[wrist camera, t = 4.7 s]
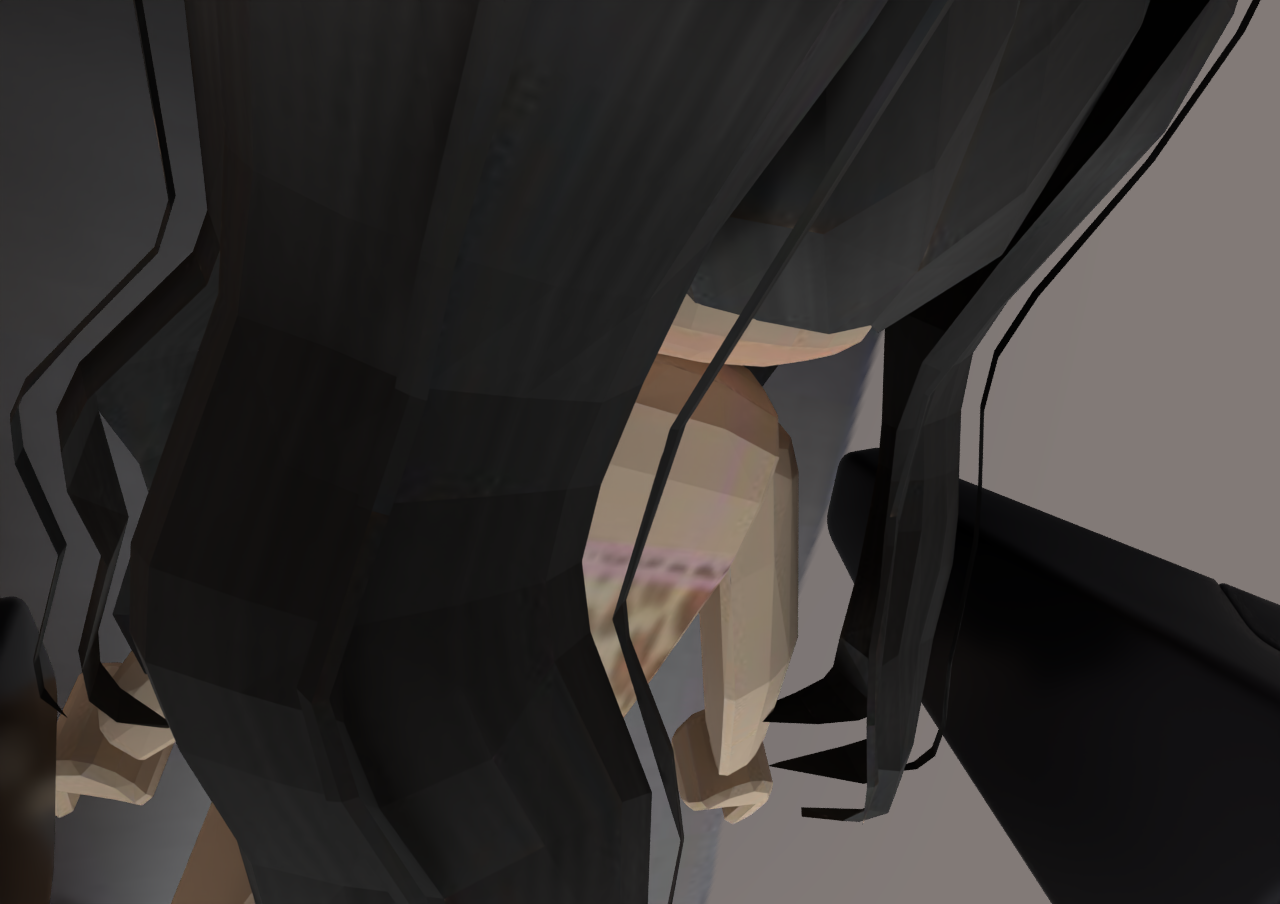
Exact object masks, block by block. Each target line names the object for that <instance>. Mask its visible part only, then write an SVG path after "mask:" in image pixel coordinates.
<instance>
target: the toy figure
mask: <svg viewBox="0 0 1280 904" xmlns="http://www.w3.org/2000/svg"><path fill="white" fill-rule="evenodd" d="M133 2H134V8H135V14H136V19H137V25H138V30H139V36H140V42H141V47H142V53H143V59H144V64H145V70H146V76H147V81H148V87H149V93H150V98H151V104H152V110H153V115H154V121H155V127H156V132H157V138H158V144H159V149H160V155H161V161H162V166H163V172H164V178H165V183H166V189H167V194H168V204H167V207H166V210H165V214H164V217H163V220H162V224H161V227H160V230H159V234H158V237H157V240H156V244H155V247H154V248H153V249H152V250H151V251H150V252H149V253H148V254H147V255H146V256H145V257H144V258H143V259H142V260H141V261H140V262H139V263H138V264H137V265H136V266H135V267H134V268H133V269H132V270H131V271H130V272H129V273H128V274H127V275H126V276H125V278H124V279H123V280H122V281H121V282H120V283H119V284H118V285H117V286H116V287H115V288H114V289H113V290H112V291H111V292H110V293H109V294H108V295H107V296H106V297H105V298H104V299H103V300H102V301H101V302H100V303H99V304H98V305H97V306H96V307H95V308H94V309H93V310H92V311H91V312H90V313H89V314H88V315H87V316H86V317H85V318H84V319H83V320H82V321H81V323H80V324H79V325H78V326H77V327H76V328H75V329H74V330H73V331H72V332H71V333H70V334H69V335H68V336H67V337H66V338H65V339H64V340H63V341H62V342H61V343H60V344H59V345H58V346H57V347H56V348H55V349H54V350H53V351H52V352H51V353H50V354H49V355H48V356H47V357H46V358H45V359H44V360H43V361H42V362H41V363H40V364H39V365H38V366H37V367H36V369H35V370H34V371H33V372H32V373H31V374H30V375H29V376H28V377H27V378H26V379H25V381H24V384H23V386H22V388H21V390H20V393H19V395H18V397H17V400H16V402H15V404H14V407H13V409H12V411H11V413H10V424H11V433H12V442H13V450H14V459H15V465H16V467H17V470H18V472H19V474H20V476H21V478H22V480H23V482H24V484H25V487H26V489H27V491H28V493H29V495H30V497H31V499H32V501H33V503H34V506H35V508H36V510H37V512H38V514H39V516H40V518H41V520H42V523H43V525H44V527H45V529H46V531H47V533H48V535H49V537H50V539H51V542H52V544H53V546H54V548H55V550H56V552H57V554H58V559H57V563H56V567H55V571H54V575H53V579H52V584H51V588H50V592H49V596H48V600H47V604H46V608H45V613H44V617H43V621H42V625H41V629H40V633H39V637H38V642H37V646H36V650H35V654H34V658H33V665H34V670H35V675H36V680H37V685H38V690H39V695H40V698H41V699H42V700H44V701H45V702H46V703H48V704H49V705H50V706H52V707H53V708H54V709H56V710H57V711H59V712H60V713H61V715H60V717H59V719H58V722H57V742H56V797H55V815H56V816H57V817H59V818H61V817H63V816H65V815H67V814H69V813H71V812H73V811H74V808H75V806H76V803H77V801H78V799H79V796H80V794H82V795H89V796H95V797H102V798H108V799H115V800H119V801H124V802H128V803H133V804H137V805H143V804H145V803H146V802H147V801H148V800H149V799H151V798H152V797H153V795H154V793H155V790H156V788H157V785H158V783H159V780H160V778H161V775H162V773H163V770H164V767H165V765H166V762H167V760H168V757H169V755H170V752H171V750H172V747H173V744H174V742H176V744H177V746H178V748H179V750H180V752H181V753H182V755H183V757H184V758H185V760H186V761H187V763H188V765H189V766H190V768H191V769H192V771H193V772H194V774H195V776H196V777H197V779H198V780H199V782H200V783H201V785H202V787H203V788H204V790H205V791H206V793H207V795H208V796H209V798H210V799H211V801H212V803H211V806H210V808H209V811H208V813H207V816H206V818H205V821H204V823H203V826H202V828H201V831H200V833H199V836H198V838H197V841H196V843H195V845H194V848H193V850H192V853H191V855H190V858H189V860H188V863H187V865H186V868H185V870H184V873H183V875H182V878H181V880H180V883H179V885H178V888H177V890H176V893H175V895H174V898H173V900H172V903H171V904H648V882H649V855H650V828H651V801H652V792H651V789H650V786H649V784H648V781H647V778H646V776H645V773H644V771H643V768H642V765H641V763H640V760H639V757H638V755H637V752H636V750H635V747H634V744H633V742H632V739H631V736H630V734H629V731H628V729H627V726H626V723H625V721H624V717H625V715H626V714H627V712H628V711H629V710H630V708H631V707H632V706H633V704H634V703H635V701H636V700H637V701H638V704H639V708H640V711H641V714H642V717H643V721H644V724H645V727H646V730H647V733H648V737H649V740H650V743H651V746H652V750H653V753H654V756H655V759H656V763H657V766H658V769H659V772H660V776H661V779H662V782H663V785H664V788H665V792H666V795H667V798H668V801H669V805H670V808H671V811H672V814H673V818H674V821H675V824H676V827H677V830H678V834H679V837H680V840H681V841H680V846H679V851H678V856H677V861H676V866H675V871H674V876H673V881H672V886H671V892H670V897H669V902H668V904H672V901H673V896H674V891H675V885H676V880H677V874H678V869H679V863H680V858H681V853H682V847H683V842H684V833H683V825H682V816H681V808H680V800H679V793H680V796H681V798H682V800H683V801H684V802H685V804H686V805H687V806H688V807H690V808H691V809H692V810H694V811H697V810H706V809H715V808H722V809H723V814H724V819H725V820H726V821H728V822H730V823H731V824H735V823H737V822H738V821H741V820H743V819H744V818H746V817H748V816H750V815H751V814H753V813H754V812H755V811H756V810H757V809H758V808H760V807H761V806H762V805H763V804H764V803H766V802H767V800H768V798H769V796H770V793H771V791H772V785H773V782H772V778H771V774H770V769H769V766H772V767H777V768H783V769H787V770H793V771H798V772H804V773H809V774H815V775H820V776H825V777H830V778H836V779H841V780H846V781H852V782H858V783H862V784H865V783H867V793H866V802H865V808H864V809H837V808H804V807H803V808H801V809H802V817H811V818H821V819H831V820H839V821H856V822H860V821H863V823H864V820H866V819H870V818H873V817H877V816H880V815H883V814H886V813H888V812H889V809H890V807H891V804H892V801H893V799H894V796H895V794H896V790H897V788H898V785H899V782H900V780H901V777H902V774H903V771H904V770H913V769H918V768H919V767H920V766H922V765H923V764H925V763H926V762H927V761H929V760H930V759H931V758H933V757H934V756H935V754H936V752H937V749H938V746H939V743H940V740H941V738H942V735H943V732H944V729H945V726H946V718H947V708H948V697H949V687H950V676H951V666H952V661H953V656H954V651H955V647H956V642H957V638H958V633H959V629H960V624H961V619H962V615H963V610H964V606H965V601H966V597H967V592H968V587H969V583H970V578H971V574H972V569H973V565H974V560H975V555H976V551H977V546H978V538H979V524H980V510H981V496H982V465H983V429H984V428H983V427H984V409H985V405H986V401H987V398H988V394H989V390H990V386H991V383H992V379H993V375H994V371H995V367H996V364H997V360H998V357H999V356H1000V354H1001V353H1002V351H1003V349H1004V348H1005V346H1006V345H1007V343H1008V342H1009V340H1010V339H1011V337H1012V335H1013V334H1014V332H1015V331H1016V330H1017V328H1018V326H1019V325H1020V324H1021V322H1022V320H1023V319H1024V317H1025V316H1026V314H1027V313H1028V311H1029V310H1030V308H1031V307H1032V305H1033V304H1034V302H1035V301H1036V299H1037V298H1038V296H1039V295H1040V294H1041V293H1042V292H1043V290H1044V289H1045V288H1046V287H1047V286H1048V285H1049V283H1050V282H1051V281H1052V280H1053V279H1054V278H1055V276H1056V275H1057V274H1058V273H1059V272H1060V271H1061V269H1062V268H1063V267H1064V266H1065V265H1066V264H1067V262H1068V261H1069V260H1070V259H1071V258H1072V257H1073V255H1074V254H1075V253H1076V252H1077V250H1079V248H1080V247H1081V246H1082V245H1083V244H1084V242H1085V241H1086V240H1087V239H1088V238H1089V237H1090V236H1091V234H1092V233H1093V232H1094V231H1095V230H1096V229H1097V227H1098V226H1099V225H1100V224H1101V223H1102V222H1103V220H1104V219H1105V218H1106V217H1107V216H1108V215H1109V213H1110V212H1111V211H1112V210H1113V209H1114V208H1115V206H1116V205H1117V204H1118V203H1119V202H1120V200H1121V199H1122V198H1123V197H1124V196H1125V194H1127V192H1128V191H1129V190H1130V189H1131V188H1132V186H1133V185H1134V184H1135V183H1136V182H1137V181H1138V180H1139V178H1140V177H1141V176H1142V175H1143V174H1144V173H1145V171H1146V170H1147V169H1148V168H1149V167H1150V166H1151V164H1152V163H1153V162H1154V161H1155V159H1156V158H1157V156H1158V155H1159V154H1160V152H1161V151H1162V149H1163V148H1164V146H1165V145H1166V144H1167V142H1168V141H1169V139H1170V138H1171V136H1172V135H1173V134H1174V132H1175V131H1176V129H1177V128H1178V126H1179V125H1180V123H1181V122H1182V121H1183V119H1184V118H1185V116H1186V115H1187V113H1188V112H1189V111H1190V109H1191V108H1192V106H1193V105H1194V103H1195V102H1196V101H1197V99H1198V98H1199V96H1200V95H1201V93H1202V92H1203V91H1204V89H1205V88H1206V86H1207V85H1208V83H1209V82H1210V81H1211V79H1212V78H1213V76H1214V75H1215V73H1216V72H1217V71H1218V69H1219V68H1220V66H1221V65H1222V63H1223V62H1224V61H1225V59H1226V58H1227V56H1228V55H1229V53H1230V52H1231V50H1232V49H1233V48H1234V46H1235V45H1236V43H1237V42H1238V40H1239V39H1240V37H1241V36H1242V35H1243V33H1244V32H1245V30H1246V28H1247V26H1248V24H1249V22H1250V20H1251V18H1252V16H1253V14H1254V12H1255V10H1256V8H1257V6H1258V4H1259V2H1260V0H1253V1H1252V3H1251V5H1250V7H1249V8H1248V10H1247V12H1246V14H1245V16H1244V18H1243V20H1242V22H1241V24H1240V26H1239V28H1238V30H1237V32H1236V34H1235V35H1234V37H1233V38H1232V39H1231V41H1230V42H1229V44H1228V45H1227V47H1226V48H1225V49H1224V51H1223V52H1222V54H1221V55H1220V57H1219V58H1218V59H1217V61H1216V62H1215V64H1214V65H1213V66H1212V68H1211V70H1210V71H1209V72H1208V74H1207V75H1206V77H1205V78H1204V79H1203V81H1202V82H1201V84H1200V85H1199V86H1198V88H1197V89H1196V91H1195V92H1194V94H1193V95H1192V96H1191V98H1190V99H1189V101H1188V102H1187V104H1186V105H1185V106H1184V108H1183V109H1182V111H1181V112H1180V114H1179V115H1178V116H1177V118H1176V119H1175V121H1174V122H1173V123H1172V125H1171V126H1170V128H1169V129H1168V131H1167V132H1166V133H1165V135H1164V136H1163V138H1162V139H1161V140H1160V142H1159V143H1158V145H1157V146H1156V148H1155V149H1154V150H1153V152H1152V153H1151V155H1150V156H1149V158H1148V159H1147V160H1146V162H1145V163H1144V164H1143V165H1142V166H1141V167H1140V169H1139V170H1138V171H1137V172H1136V173H1135V174H1134V176H1133V177H1132V178H1131V179H1130V180H1129V181H1128V182H1127V184H1126V185H1125V186H1124V187H1123V188H1122V189H1121V190H1120V192H1119V193H1118V194H1117V195H1116V196H1115V197H1114V198H1113V200H1112V201H1111V202H1110V203H1109V204H1108V205H1107V207H1106V208H1105V209H1104V210H1103V211H1102V213H1101V214H1100V215H1099V216H1098V217H1097V218H1096V220H1094V222H1093V223H1092V224H1091V225H1090V226H1089V227H1088V229H1087V230H1086V231H1085V232H1084V233H1083V234H1082V236H1081V237H1080V238H1079V239H1078V240H1077V241H1076V242H1075V243H1074V245H1073V246H1072V247H1071V248H1070V249H1069V250H1068V252H1067V253H1066V254H1065V255H1064V256H1063V257H1062V258H1061V260H1060V261H1059V262H1058V263H1057V264H1056V265H1055V267H1054V268H1053V269H1052V270H1051V271H1050V272H1049V274H1048V275H1047V276H1046V277H1045V278H1044V279H1043V280H1042V282H1041V283H1040V284H1039V285H1038V286H1037V287H1036V289H1035V290H1034V291H1033V292H1032V294H1031V295H1030V297H1029V298H1028V300H1027V301H1026V303H1025V305H1024V306H1023V308H1022V310H1021V311H1020V312H1019V314H1018V315H1017V317H1016V318H1015V320H1014V321H1013V323H1012V325H1011V326H1010V328H1009V329H1008V331H1007V332H1006V334H1005V335H1004V337H1003V339H1002V340H1001V341H1000V343H999V344H998V346H997V348H996V349H995V351H994V354H993V358H992V362H991V366H990V370H989V374H988V378H987V382H986V386H985V390H984V394H983V397H982V402H981V407H980V441H979V477H978V492H977V504H976V515H975V527H974V538H973V545H972V549H971V554H970V559H969V564H968V568H967V573H966V578H965V583H964V587H963V592H962V597H961V602H960V607H959V611H958V616H957V621H956V626H955V630H954V635H953V640H952V645H951V649H950V654H949V659H948V665H947V674H946V683H945V691H944V700H943V715H942V722H941V725H940V727H939V730H938V733H937V735H936V738H935V741H934V743H933V746H932V747H931V748H930V749H929V750H928V751H927V752H925V753H924V754H923V755H922V756H920V757H919V758H918V759H917V760H916V761H914V762H911V763H908V764H906V763H907V760H908V758H909V755H910V752H911V749H912V746H913V743H914V738H915V733H916V727H917V722H918V716H919V711H920V706H921V701H922V695H923V690H924V685H925V680H926V674H927V669H928V664H929V658H930V653H931V648H932V643H933V637H934V633H935V630H936V626H937V622H938V618H939V614H940V611H941V607H942V603H943V599H944V596H945V592H946V588H947V584H948V580H949V577H950V573H951V569H952V565H953V558H954V549H955V539H956V530H957V520H958V503H959V458H960V428H961V407H962V403H963V398H964V394H965V389H966V384H967V379H968V374H969V369H970V364H971V360H972V355H973V352H974V351H975V349H976V348H977V346H978V345H979V343H980V342H981V340H982V339H983V337H984V336H985V334H986V333H987V331H988V330H989V328H990V327H991V325H992V324H993V322H994V321H995V319H996V318H997V316H998V315H999V313H1000V312H1001V311H1002V309H1003V308H1004V306H1005V305H1006V303H1007V302H1008V300H1009V299H1010V298H1011V297H1012V296H1013V295H1014V294H1015V293H1016V292H1017V291H1018V290H1019V288H1020V287H1021V286H1022V285H1023V284H1024V283H1025V282H1026V281H1027V280H1028V279H1029V278H1030V277H1031V275H1032V274H1033V273H1034V272H1035V271H1036V270H1037V269H1038V268H1039V267H1040V266H1041V265H1042V264H1043V263H1044V262H1045V261H1046V259H1047V258H1048V257H1049V256H1050V255H1051V254H1052V253H1053V252H1054V251H1055V250H1056V249H1057V247H1058V246H1059V245H1060V244H1061V243H1062V242H1063V241H1064V240H1065V239H1066V238H1067V237H1068V236H1069V235H1070V234H1071V233H1072V231H1073V230H1074V229H1075V228H1076V227H1077V226H1078V225H1079V224H1080V223H1081V222H1082V221H1083V220H1084V218H1085V217H1086V216H1087V215H1088V214H1089V213H1090V212H1091V211H1092V210H1093V209H1094V208H1095V206H1097V204H1098V203H1099V202H1100V201H1101V200H1102V199H1103V198H1104V197H1105V196H1106V195H1107V194H1108V193H1109V192H1110V190H1111V189H1112V188H1113V187H1114V186H1115V185H1116V184H1117V183H1118V182H1119V181H1120V180H1121V179H1122V178H1123V176H1124V175H1125V174H1126V173H1127V172H1128V171H1129V170H1130V169H1131V168H1132V167H1133V166H1134V165H1135V163H1136V162H1137V161H1138V160H1139V159H1140V158H1141V157H1142V156H1143V155H1144V154H1145V153H1146V152H1147V151H1148V150H1149V148H1150V147H1151V146H1152V145H1153V144H1154V143H1155V142H1156V141H1157V140H1158V139H1159V137H1161V135H1162V134H1163V133H1164V132H1165V131H1166V129H1167V127H1168V126H1169V124H1170V122H1171V120H1172V119H1173V117H1174V115H1175V114H1176V112H1177V110H1178V108H1179V107H1180V105H1181V103H1182V102H1183V100H1184V98H1185V96H1186V95H1187V93H1188V91H1189V90H1190V88H1191V86H1192V84H1193V83H1194V81H1195V79H1196V78H1197V76H1198V74H1199V72H1200V71H1201V69H1202V67H1203V66H1204V64H1205V62H1206V60H1207V59H1208V57H1209V55H1210V53H1211V52H1212V50H1213V48H1214V47H1215V45H1216V43H1217V42H1218V40H1219V38H1220V36H1221V35H1222V33H1223V31H1224V30H1225V28H1226V26H1227V24H1228V22H1229V21H1230V19H1231V18H1232V16H1233V14H1234V11H1235V8H1236V5H1237V2H1238V0H184V2H185V11H186V20H187V29H188V38H189V47H190V56H191V65H192V74H193V83H194V92H195V101H196V110H197V119H198V128H199V138H200V147H201V156H202V165H203V174H204V183H205V192H206V201H207V213H206V216H205V219H204V221H203V224H202V227H201V230H200V233H199V236H198V239H197V241H196V244H195V247H194V250H193V252H192V253H191V254H190V255H189V256H188V257H187V258H186V259H185V260H184V261H183V262H182V263H181V264H180V265H179V266H178V267H177V268H176V269H175V270H174V271H173V272H172V273H170V274H169V275H168V276H167V277H166V278H165V279H164V280H163V281H162V282H161V283H160V284H159V285H158V286H157V287H156V288H155V289H154V290H153V291H152V292H151V293H150V294H149V295H148V296H147V297H146V298H145V299H144V300H143V301H142V302H141V303H140V304H139V305H138V306H137V307H136V308H135V309H134V310H133V311H132V312H131V313H130V314H129V315H127V316H126V317H125V318H124V319H123V320H122V321H121V322H120V323H119V324H118V325H117V326H116V327H115V328H114V329H113V330H112V331H111V332H110V333H109V334H108V335H107V336H106V337H105V338H104V339H103V340H102V341H101V342H100V343H99V344H98V345H97V346H96V347H95V348H94V349H93V350H92V351H91V352H90V353H89V354H88V355H87V356H85V357H84V358H83V359H82V360H81V361H80V362H79V364H78V366H77V369H76V371H75V373H74V375H73V377H72V379H71V381H70V383H69V385H68V388H67V390H66V392H65V394H64V396H63V398H62V400H61V402H60V404H59V406H58V409H57V411H56V413H57V422H58V430H59V439H60V447H61V455H62V461H63V468H64V474H65V481H66V487H67V493H68V495H69V496H70V498H71V500H72V502H73V504H74V506H75V508H76V510H77V511H78V513H79V515H80V517H81V519H82V521H83V523H84V525H85V526H86V528H87V530H88V532H89V534H90V536H91V538H92V540H93V541H94V543H95V545H96V547H97V549H98V551H99V553H100V555H101V558H100V562H99V566H98V570H97V574H96V579H95V583H94V587H93V591H92V595H91V599H90V604H89V608H88V612H87V616H86V620H85V624H84V629H83V633H82V637H81V641H80V645H79V649H78V652H79V657H80V662H81V667H82V672H83V673H81V674H80V675H79V676H78V678H77V680H76V683H75V685H74V687H73V689H72V691H71V693H70V696H69V698H68V700H67V702H66V704H65V706H64V709H63V711H62V710H61V709H60V707H59V706H58V705H57V703H56V702H55V701H54V699H53V698H52V697H51V696H50V694H49V693H48V692H47V690H46V689H45V688H44V682H43V676H42V670H41V663H40V657H39V653H40V649H41V645H42V641H43V637H44V633H45V629H46V625H47V621H48V617H49V613H50V609H51V605H52V601H53V597H54V593H55V589H56V585H57V581H58V577H59V573H60V569H61V565H62V561H63V557H64V553H65V549H66V545H67V544H66V541H65V539H64V537H63V535H62V532H61V530H60V528H59V526H58V524H57V521H56V519H55V517H54V515H53V512H52V510H51V508H50V506H49V503H48V501H47V499H46V497H45V494H44V492H43V490H42V488H41V485H40V483H39V481H38V479H37V476H36V474H35V472H34V470H33V467H32V465H31V463H30V461H29V458H28V456H27V454H26V452H25V449H24V447H23V440H22V432H21V423H20V415H19V403H20V401H21V399H22V397H23V395H24V394H25V393H26V392H27V391H28V390H29V389H30V388H31V386H32V385H33V384H34V383H35V382H36V381H37V380H38V379H39V377H40V376H41V375H42V374H43V373H44V372H45V371H46V369H47V368H48V367H49V366H50V365H51V364H52V363H53V362H54V360H55V359H56V358H57V357H58V356H59V355H60V354H61V353H62V351H63V350H64V349H65V348H66V347H67V346H68V345H69V344H70V342H71V341H72V340H73V339H74V338H75V337H76V336H77V335H78V334H79V333H80V332H81V331H82V330H83V328H84V327H85V326H86V325H87V324H88V323H89V322H90V321H91V320H92V319H93V318H94V317H95V316H96V315H97V314H98V313H99V312H100V311H101V310H102V309H103V308H104V307H105V306H106V305H107V304H108V303H109V302H110V301H111V300H112V299H113V298H114V297H115V296H116V295H117V294H118V293H119V292H120V291H121V290H122V289H123V288H124V287H125V286H126V285H127V284H128V283H129V282H130V281H131V280H132V279H133V278H134V277H135V276H136V275H137V274H138V273H139V272H140V271H141V270H142V269H143V268H144V267H145V266H146V265H147V264H148V263H149V262H150V261H151V260H152V259H153V258H154V257H155V255H156V254H157V253H158V251H159V248H160V244H161V241H162V238H163V235H164V232H165V228H166V225H167V222H168V219H169V215H170V212H171V209H172V206H173V203H174V199H175V196H176V195H175V190H174V184H173V178H172V172H171V166H170V160H169V155H168V149H167V143H166V137H165V131H164V125H163V120H162V114H161V108H160V102H159V96H158V90H157V85H156V79H155V73H154V67H153V61H152V55H151V50H150V44H149V38H148V32H147V26H146V20H145V15H144V9H143V3H142V0H133ZM871 327H873V328H874V329H875V330H876V331H877V332H878V333H879V332H881V331H882V330H884V329H885V343H884V373H883V404H882V426H881V438H880V448H879V459H878V467H877V473H876V478H875V484H874V490H873V495H872V501H871V507H870V512H869V517H868V522H867V527H866V532H865V537H864V542H863V547H862V552H861V557H860V562H859V567H858V572H857V576H856V580H855V583H854V587H853V591H852V595H851V598H850V602H849V605H848V609H847V613H846V616H845V620H844V624H843V628H842V631H841V635H840V639H839V643H838V648H837V652H836V657H835V661H834V665H833V667H832V668H831V670H830V671H829V672H828V673H827V675H826V676H825V677H824V678H823V679H821V680H819V681H817V682H815V683H813V684H812V685H810V686H808V687H806V688H804V689H802V690H800V691H798V692H796V693H794V694H791V695H789V696H787V697H785V698H782V699H779V700H777V698H778V696H779V692H780V690H781V687H782V684H783V680H784V678H785V675H786V671H787V669H788V665H789V663H790V659H791V656H792V653H793V650H794V647H795V644H796V641H797V638H798V468H797V463H796V459H795V454H794V450H793V445H792V440H791V437H790V436H789V435H788V434H787V432H786V431H785V430H784V429H783V427H782V426H781V425H780V424H779V423H778V415H777V413H776V411H775V409H774V407H773V406H772V404H771V402H770V400H769V398H768V396H767V394H766V392H765V391H764V389H763V388H762V386H763V385H764V384H765V382H766V381H767V380H768V378H769V377H770V376H771V374H772V373H773V371H774V370H775V369H776V367H777V366H778V365H779V364H786V363H793V362H800V361H807V360H811V359H816V358H820V357H825V356H829V355H834V354H836V353H838V352H840V351H843V350H845V349H847V348H849V347H851V346H853V345H855V344H857V343H859V342H861V341H862V340H863V338H864V337H865V336H866V334H867V333H868V331H869V330H870V329H871ZM98 410H99V411H98ZM99 412H100V413H101V414H102V416H103V417H104V418H105V419H106V421H107V422H108V423H109V425H110V426H111V427H112V429H113V430H114V431H115V433H116V434H117V435H118V436H119V438H120V439H121V440H122V442H123V443H124V444H125V446H126V447H127V448H128V450H129V451H130V452H131V454H132V455H133V456H134V457H135V459H136V460H137V461H138V463H139V465H140V468H141V471H142V474H143V477H144V480H145V483H146V486H147V489H148V492H149V493H148V495H147V498H146V501H145V504H144V507H143V510H142V513H141V515H140V518H139V521H138V524H137V527H136V530H135V533H134V535H133V538H132V541H131V554H130V560H129V563H128V566H127V570H126V573H125V576H124V579H123V582H122V586H121V589H120V592H119V595H118V598H117V602H116V605H115V608H114V611H113V616H114V618H115V620H116V622H117V623H118V625H119V627H120V629H121V631H122V633H123V635H124V636H125V638H126V640H127V642H128V644H129V646H130V648H131V649H132V651H131V653H130V654H129V655H128V657H127V658H126V659H125V661H124V662H123V663H118V662H116V663H101V662H100V652H99V636H98V630H99V626H100V622H101V619H102V615H103V611H104V607H105V604H106V600H107V596H108V593H109V589H110V585H111V581H112V578H113V574H114V570H115V566H116V563H117V559H118V555H119V551H120V548H121V544H122V540H123V536H124V533H125V529H126V525H127V521H128V518H129V516H128V513H127V509H126V506H125V502H124V499H123V495H122V492H121V488H120V485H119V481H118V478H117V474H116V471H115V467H114V463H113V460H112V456H111V453H110V449H109V446H108V442H107V439H106V435H105V432H104V428H103V425H102V421H101V418H100V414H99ZM698 613H699V615H700V632H701V650H702V667H703V684H704V702H705V709H704V710H702V711H699V712H697V713H694V714H692V715H691V716H690V717H689V718H688V719H687V720H686V721H685V722H684V723H683V724H682V725H681V726H680V727H679V728H678V729H677V730H676V732H675V734H674V736H673V738H672V744H671V742H670V740H669V737H668V734H667V732H666V729H665V727H664V724H663V721H662V719H661V716H660V714H659V711H658V709H657V706H656V703H655V701H654V698H653V696H652V693H651V690H650V688H649V685H648V683H649V682H650V681H651V679H652V678H653V676H654V675H655V674H656V672H657V671H658V669H659V668H660V666H661V665H662V664H663V662H664V661H665V659H666V658H667V657H668V655H669V654H670V652H671V651H672V649H673V648H674V647H675V645H676V644H677V642H678V641H679V640H680V638H681V637H682V635H683V634H684V632H685V631H686V630H687V628H688V627H689V625H690V624H691V623H692V621H693V620H694V618H695V617H696V615H697V614H698ZM866 717H867V739H865V740H862V741H859V742H856V743H852V744H849V745H845V746H842V747H838V748H834V749H830V750H826V751H822V752H818V753H814V754H810V755H806V756H802V757H798V758H794V759H790V760H786V761H782V762H778V763H775V764H772V765H768V761H767V757H766V753H765V749H764V744H763V739H764V737H765V735H766V732H767V729H768V726H769V723H770V722H779V723H804V724H824V723H835V722H845V721H856V720H860V719H863V718H866ZM678 789H679V792H678Z"/></svg>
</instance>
